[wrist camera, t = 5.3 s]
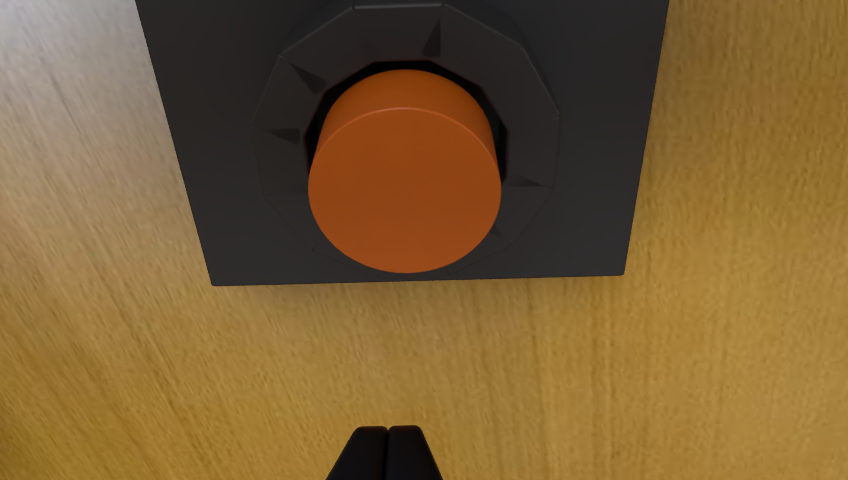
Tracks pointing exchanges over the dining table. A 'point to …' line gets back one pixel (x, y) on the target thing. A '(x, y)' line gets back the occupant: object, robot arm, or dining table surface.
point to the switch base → (418, 50)
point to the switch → (405, 172)
